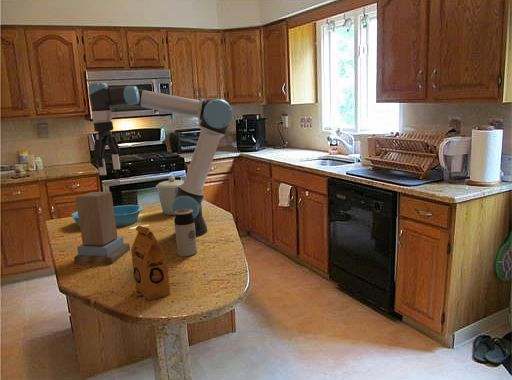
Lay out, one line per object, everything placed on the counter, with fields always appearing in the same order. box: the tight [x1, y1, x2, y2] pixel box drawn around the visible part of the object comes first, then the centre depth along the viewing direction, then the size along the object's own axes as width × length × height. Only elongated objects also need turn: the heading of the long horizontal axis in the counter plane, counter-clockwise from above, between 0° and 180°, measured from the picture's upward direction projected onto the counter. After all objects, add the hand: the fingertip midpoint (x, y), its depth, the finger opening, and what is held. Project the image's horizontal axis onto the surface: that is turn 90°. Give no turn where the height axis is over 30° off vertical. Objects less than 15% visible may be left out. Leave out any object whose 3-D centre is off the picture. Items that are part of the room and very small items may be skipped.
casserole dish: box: [70, 204, 145, 228], centre depth 225 cm, size 37×22×7 cm, turn 99°
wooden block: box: [75, 191, 119, 245], centre depth 171 cm, size 10×10×20 cm
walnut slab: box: [73, 242, 131, 265], centre depth 174 cm, size 16×16×4 cm
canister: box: [155, 175, 184, 216], centre depth 237 cm, size 18×18×21 cm
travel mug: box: [173, 209, 198, 257], centre depth 171 cm, size 8×8×18 cm
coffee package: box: [130, 224, 171, 301], centre depth 136 cm, size 10×12×22 cm
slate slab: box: [76, 236, 125, 256], centre depth 174 cm, size 13×13×4 cm
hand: (110, 172), depth 179 cm, fingers open, 13 cm apart
